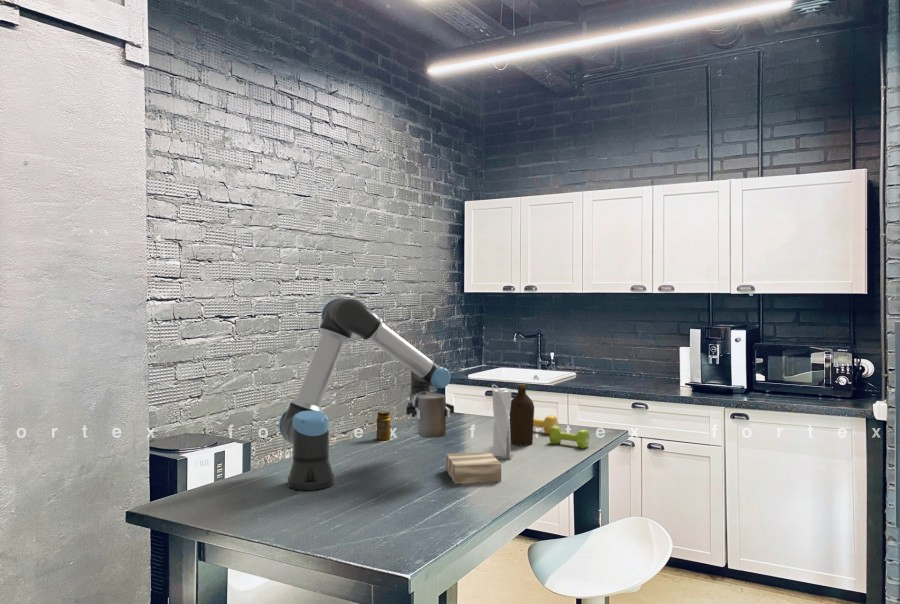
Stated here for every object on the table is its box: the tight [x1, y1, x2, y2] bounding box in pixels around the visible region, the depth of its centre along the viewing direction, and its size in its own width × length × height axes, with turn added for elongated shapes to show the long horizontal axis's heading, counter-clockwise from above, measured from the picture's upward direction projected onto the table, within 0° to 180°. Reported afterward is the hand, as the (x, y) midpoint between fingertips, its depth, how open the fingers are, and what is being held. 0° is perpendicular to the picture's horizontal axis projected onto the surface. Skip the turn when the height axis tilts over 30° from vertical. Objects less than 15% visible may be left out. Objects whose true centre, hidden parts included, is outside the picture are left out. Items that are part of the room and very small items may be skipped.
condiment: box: [369, 410, 395, 444], centre depth 275 cm, size 7×8×12 cm
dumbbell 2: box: [548, 425, 591, 449], centre depth 267 cm, size 16×8×7 cm, turn 54°
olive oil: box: [509, 383, 535, 446], centre depth 270 cm, size 11×11×25 cm
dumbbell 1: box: [533, 415, 559, 435], centre depth 293 cm, size 19×9×8 cm, turn 52°
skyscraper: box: [491, 383, 514, 460], centre depth 248 cm, size 8×8×28 cm
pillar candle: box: [417, 392, 447, 439], centre depth 219 cm, size 10×10×15 cm
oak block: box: [445, 451, 502, 485], centre depth 222 cm, size 16×16×6 cm
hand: (434, 414), depth 215 cm, fingers closed on pillar candle, 9 cm apart
